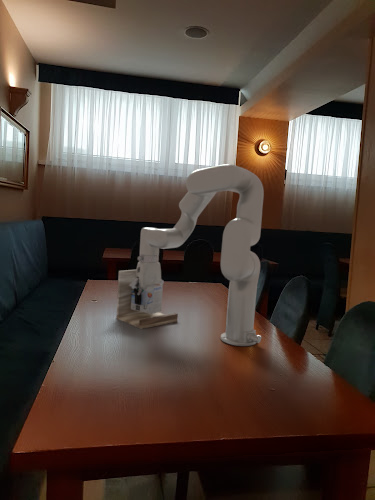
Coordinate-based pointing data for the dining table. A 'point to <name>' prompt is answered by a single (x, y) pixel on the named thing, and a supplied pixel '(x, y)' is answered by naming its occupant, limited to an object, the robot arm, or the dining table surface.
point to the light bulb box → (149, 299)
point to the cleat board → (135, 316)
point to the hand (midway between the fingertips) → (146, 302)
